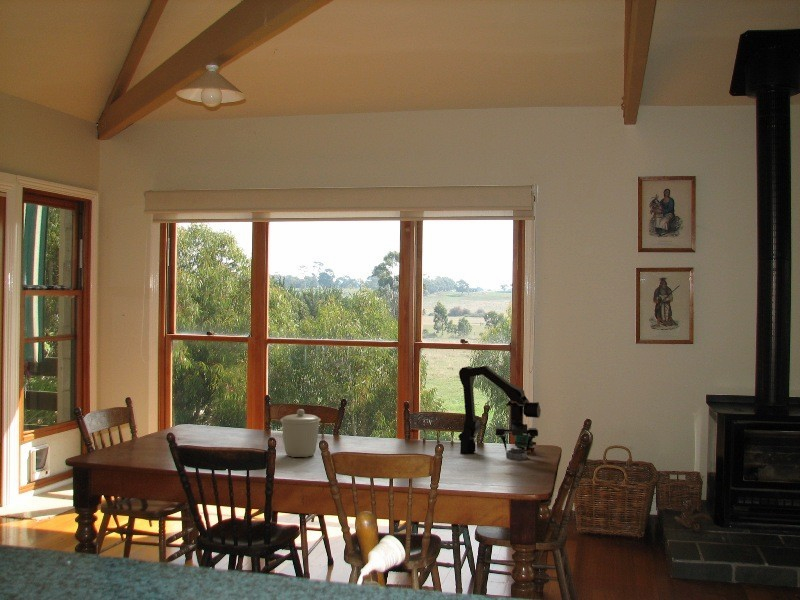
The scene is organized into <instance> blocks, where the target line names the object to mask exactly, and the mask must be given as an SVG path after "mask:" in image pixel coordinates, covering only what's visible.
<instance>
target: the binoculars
mask: <svg viewBox="0 0 800 600" xmlns="http://www.w3.org/2000/svg"><path fill="white" fill-rule="evenodd" d="M527 435H528V434H523V435H522V436H520V435H515V438H514V439H515V440H514V446H515V447H516V448H521V449H522V450H523V451H526V444H527ZM536 445H537V442H536V441H533V439H532V440H531V442H530V445H529V448H528V451H526V452H527V454H528V453H532V451H535V447H533V446H536Z"/></svg>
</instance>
